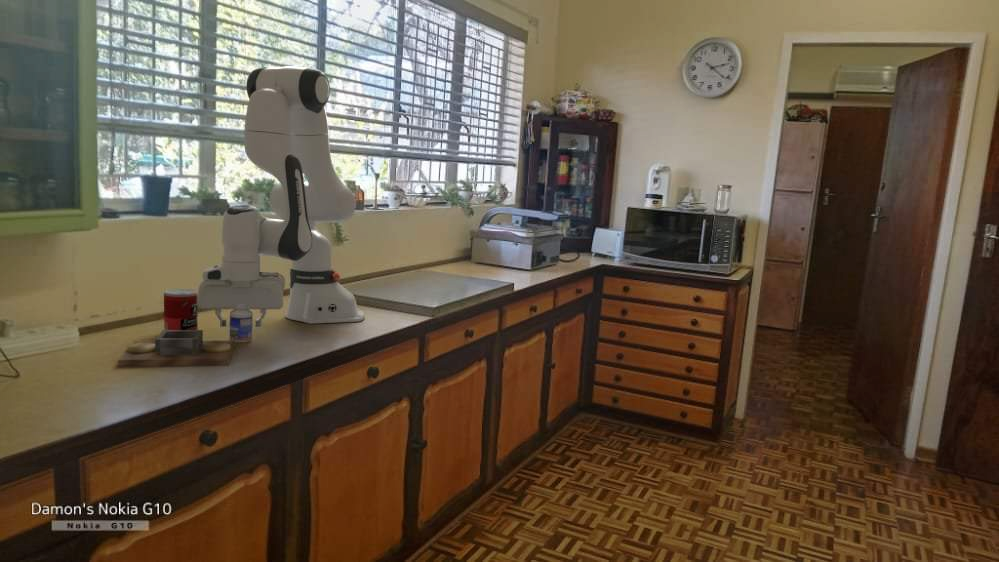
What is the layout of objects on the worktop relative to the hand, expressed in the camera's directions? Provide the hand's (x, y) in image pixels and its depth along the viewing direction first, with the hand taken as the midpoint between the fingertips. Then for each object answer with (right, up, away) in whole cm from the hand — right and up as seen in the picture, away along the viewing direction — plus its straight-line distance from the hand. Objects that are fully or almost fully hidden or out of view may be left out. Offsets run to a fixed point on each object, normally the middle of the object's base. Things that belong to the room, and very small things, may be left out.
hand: (241, 326), depth 180 cm
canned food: (-17, -2, +3) cm, 17 cm away
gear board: (-8, -6, -16) cm, 19 cm away
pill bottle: (0, -4, +1) cm, 4 cm away
